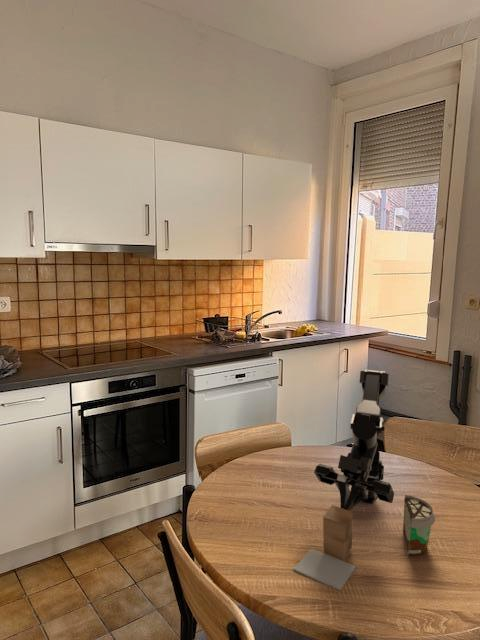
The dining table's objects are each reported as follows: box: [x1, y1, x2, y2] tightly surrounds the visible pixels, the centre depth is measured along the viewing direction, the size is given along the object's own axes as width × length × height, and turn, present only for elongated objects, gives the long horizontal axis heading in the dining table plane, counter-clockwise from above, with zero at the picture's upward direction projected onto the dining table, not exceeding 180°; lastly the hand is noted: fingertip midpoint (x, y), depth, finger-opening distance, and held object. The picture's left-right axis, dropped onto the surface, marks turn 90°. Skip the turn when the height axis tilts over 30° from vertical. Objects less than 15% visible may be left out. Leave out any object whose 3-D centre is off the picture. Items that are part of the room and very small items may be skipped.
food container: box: [402, 494, 436, 558], centre depth 114 cm, size 12×6×10 cm, turn 168°
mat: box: [293, 548, 357, 591], centre depth 105 cm, size 9×11×1 cm
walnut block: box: [322, 504, 353, 562], centre depth 110 cm, size 5×5×10 cm
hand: (342, 516), depth 111 cm, fingers closed, pressing on walnut block
